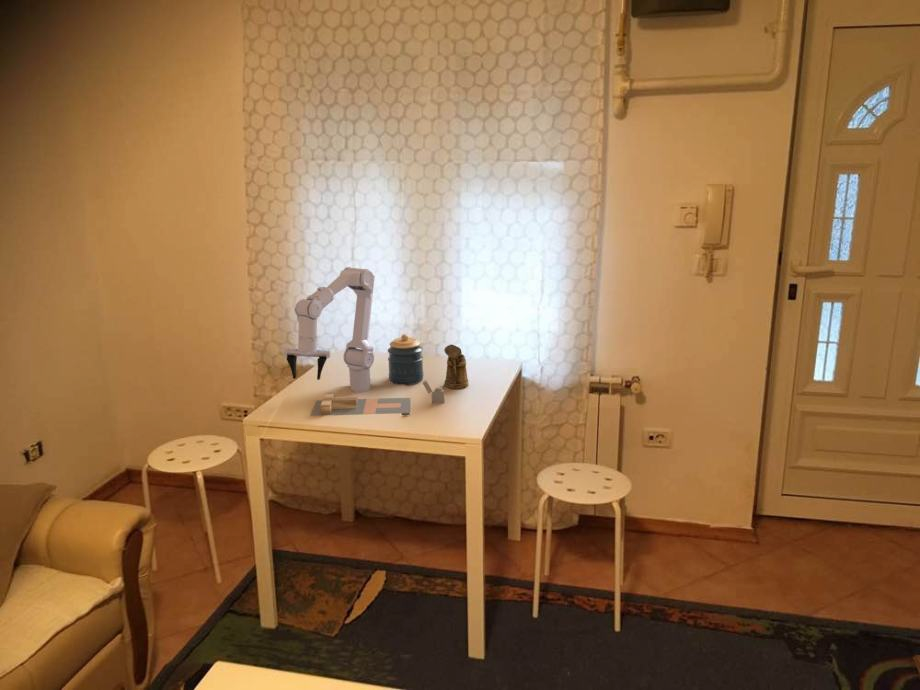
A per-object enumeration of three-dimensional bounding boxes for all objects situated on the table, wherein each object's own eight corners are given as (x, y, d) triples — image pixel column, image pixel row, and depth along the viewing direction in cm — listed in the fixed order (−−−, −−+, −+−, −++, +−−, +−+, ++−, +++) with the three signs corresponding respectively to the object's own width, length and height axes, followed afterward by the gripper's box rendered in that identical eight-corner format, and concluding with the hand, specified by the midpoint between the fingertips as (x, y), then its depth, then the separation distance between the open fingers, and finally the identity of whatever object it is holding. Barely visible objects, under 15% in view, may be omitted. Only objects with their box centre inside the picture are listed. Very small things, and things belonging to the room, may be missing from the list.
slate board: (316, 403, 236) (316, 400, 236) (410, 400, 238) (410, 397, 237) (310, 418, 223) (309, 415, 223) (409, 415, 224) (409, 412, 224)
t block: (326, 401, 235) (325, 392, 234) (358, 400, 236) (358, 391, 235) (321, 414, 224) (320, 405, 223) (355, 413, 224) (354, 404, 223)
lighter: (444, 401, 236) (443, 379, 234) (444, 403, 235) (443, 381, 232) (423, 402, 236) (422, 380, 233) (423, 404, 234) (422, 381, 232)
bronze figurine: (439, 393, 244) (438, 344, 239) (447, 380, 257) (446, 334, 252) (464, 394, 243) (463, 345, 238) (470, 381, 255) (470, 334, 250)
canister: (409, 387, 250) (407, 340, 245) (381, 381, 257) (379, 335, 252) (430, 377, 260) (429, 332, 255) (403, 372, 267) (401, 328, 262)
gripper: (282, 338, 216) (281, 380, 219) (328, 340, 217) (327, 382, 220) (286, 334, 223) (285, 375, 226) (331, 336, 224) (330, 377, 227)
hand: (306, 378), depth 223 cm, fingers open, 7 cm apart
